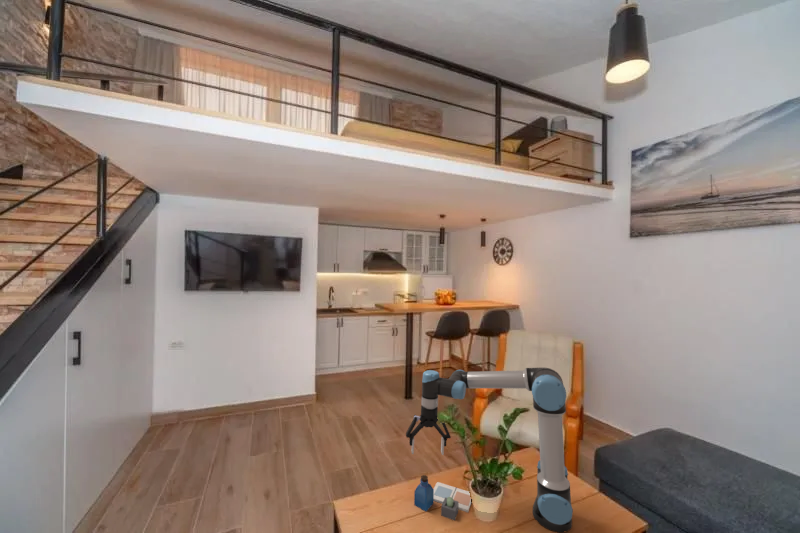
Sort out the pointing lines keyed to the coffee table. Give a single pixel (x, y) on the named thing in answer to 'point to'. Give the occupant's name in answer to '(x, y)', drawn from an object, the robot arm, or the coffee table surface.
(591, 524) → the coffee table surface
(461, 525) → the coffee table surface
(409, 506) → the coffee table surface
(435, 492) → the picture board
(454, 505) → the button housing
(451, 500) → the button
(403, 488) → the coffee table surface
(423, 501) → the perfume bottle
